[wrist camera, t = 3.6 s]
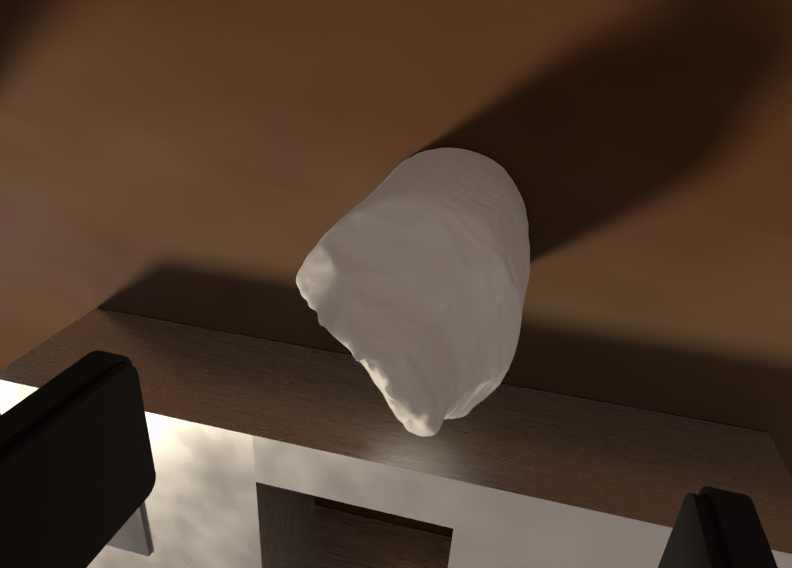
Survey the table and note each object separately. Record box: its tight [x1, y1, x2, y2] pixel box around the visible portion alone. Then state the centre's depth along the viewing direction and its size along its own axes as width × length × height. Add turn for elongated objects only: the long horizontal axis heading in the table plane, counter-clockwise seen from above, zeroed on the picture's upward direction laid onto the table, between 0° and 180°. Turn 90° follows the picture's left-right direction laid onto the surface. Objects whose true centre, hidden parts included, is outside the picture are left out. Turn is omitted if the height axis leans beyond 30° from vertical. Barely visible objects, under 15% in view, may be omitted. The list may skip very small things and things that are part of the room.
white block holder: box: [0, 308, 792, 568], centre depth 25 cm, size 12×30×6 cm, turn 87°
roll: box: [296, 147, 530, 437], centre depth 16 cm, size 6×12×6 cm
